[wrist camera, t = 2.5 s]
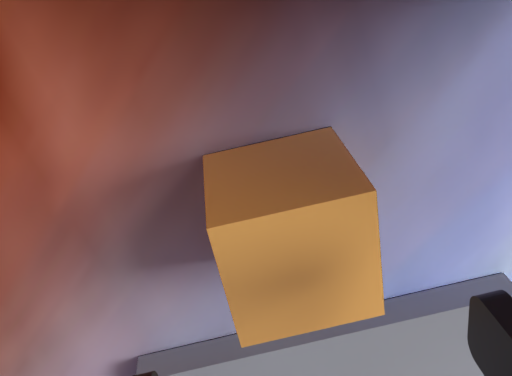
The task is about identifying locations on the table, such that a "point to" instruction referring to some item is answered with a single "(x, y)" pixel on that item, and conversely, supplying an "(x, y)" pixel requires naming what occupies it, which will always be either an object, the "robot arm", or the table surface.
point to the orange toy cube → (293, 236)
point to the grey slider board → (351, 343)
